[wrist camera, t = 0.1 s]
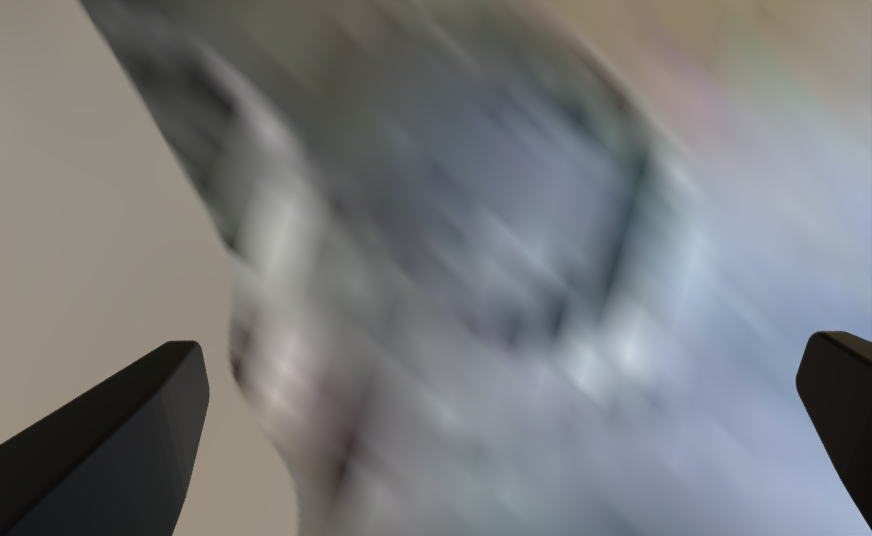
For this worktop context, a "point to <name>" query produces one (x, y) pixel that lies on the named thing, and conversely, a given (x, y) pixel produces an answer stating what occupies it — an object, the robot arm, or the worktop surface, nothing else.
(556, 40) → the worktop surface
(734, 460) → the worktop surface
